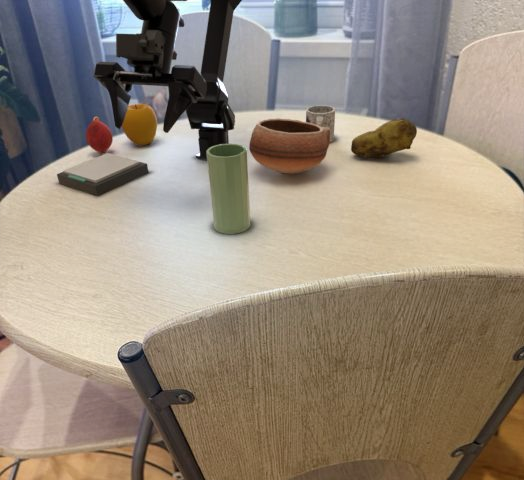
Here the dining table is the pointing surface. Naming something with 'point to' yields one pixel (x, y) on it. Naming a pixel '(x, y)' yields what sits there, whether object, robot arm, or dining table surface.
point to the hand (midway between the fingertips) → (141, 129)
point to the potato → (385, 139)
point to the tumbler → (229, 187)
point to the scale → (102, 173)
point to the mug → (322, 117)
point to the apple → (140, 124)
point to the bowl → (289, 144)
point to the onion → (99, 136)
